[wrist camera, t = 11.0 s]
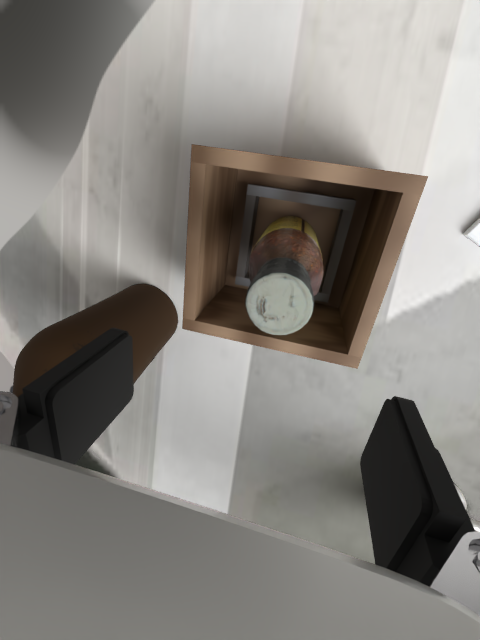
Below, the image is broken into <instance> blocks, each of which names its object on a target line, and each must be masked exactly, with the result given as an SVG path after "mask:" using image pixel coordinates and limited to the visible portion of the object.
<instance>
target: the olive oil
mask: <svg viewBox="0 0 480 640" xmlns="http://www.w3.org/2000/svg"><path fill="white" fill-rule="evenodd" d="M177 324H178V316H177V311H176V308H175V306H174V304H173V302H172V301H171V300H170V298H169V297H168V296H167V295H166V294H165V293H164V292H163V291H161V290H160V289H158V288H156V287H154V286H151V285H147V284H137V285H133V286H130V287H128V288H126V289H124V290H123V291H121V292H119V293H117V294H115V295H113V296H111V297H109V298H107V299H105V300H103V301H101V302H99V303H97V304H95V305H93V306H91V307H89V308H87V309H85V310H83V311H80V312H78V313H76V314H74V315H72V316H70V317H68V318H66V319H64V320H61V321H59V322H57V323H55V324H53V325H51V326H49V327H47V328H45V329H43V330H42V331H40V332H39V333H37V334H36V335H35V336H34V337H33V338H32V339H31V340H30V341H29V342H28V343H27V344H26V346H25V347H24V348H23V349H22V351H21V352H20V354H19V356H18V358H17V361H16V365H15V371H14V383H13V394H15V395H16V396H17V397H19V396H20V395H21V394H23V391H22V388H24V387H25V386H27V385H28V384H30V383H31V382H33V381H34V380H36V379H37V378H38V377H40V376H41V375H43V374H44V373H46V372H47V371H49V370H50V369H52V368H53V367H55V366H56V365H58V364H59V363H60V362H62V361H63V360H65V359H66V358H68V357H69V356H71V355H72V354H74V353H75V352H77V351H78V350H80V349H81V348H82V347H84V346H85V345H87V344H88V343H90V342H91V341H93V340H94V339H96V338H97V337H99V336H100V335H101V334H103V333H104V332H106V331H107V330H109V329H110V328H117V329H121V330H125V331H128V333H129V335H130V336H132V341H133V384H134V383H135V381H136V380H137V379H138V378H139V376H140V375H141V374H142V372H143V371H144V370H145V369H146V367H147V366H148V365H149V364H150V362H152V360H153V359H154V358H155V356H156V355H157V353H158V352H159V351H160V350H161V349H162V347H163V346H164V345H165V344H166V343H167V341H168V340H169V339H170V338H171V337H172V335H173V334H174V332H175V330H176V328H177Z"/></svg>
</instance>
